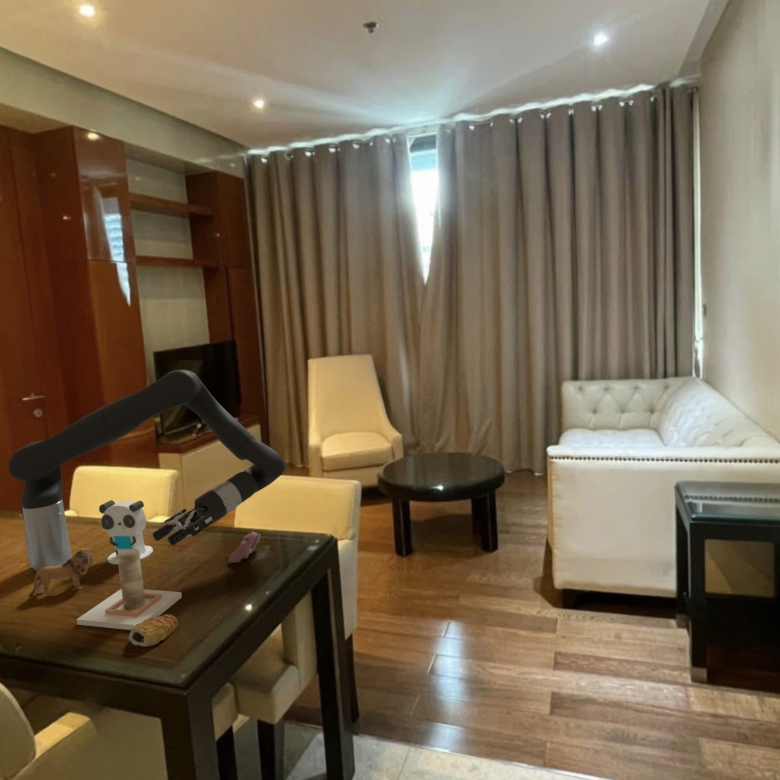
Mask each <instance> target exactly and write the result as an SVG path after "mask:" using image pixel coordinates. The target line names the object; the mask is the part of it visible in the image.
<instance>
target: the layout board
mask: <svg viewBox="0 0 780 780" xmlns="http://www.w3.org/2000/svg"><path fill="white" fill-rule="evenodd" d="M144 595H145V605H144V606H142V607H141V608H138V609H135V610H125V609H124V606H123V598H122V590H121V588H120V589H119V590H117V591H116V592H114V593H112V595H111V594H110V596H109V597H107V598H105V599H104V600H102V601H101V602H100V603H98V604H97V605H95V606H94V607H92V608H91V609H90V610H88V611H87V612H85V613H84V614H82V615H81V616H79V617H78V618H76V624H77V626H78V625H80V626H88V627H96V628H99V627H100V628H108V629H116V630H118V629H119V630H128V631H132V628H135V626H136V624H138V623H142V622H143V621H144V620H145V619H151V618H153V617H157V616H162V614H163V613H164V612H166V611H167V610H168V609H169V608H171V607H172V606H173V605H174V604H176V603H177V602H178V601H179V600H180V599H181V598H182V597H183V596H182V592H180V591H170V590H155V589H144Z"/></svg>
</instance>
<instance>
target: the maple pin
mask: <svg viewBox="0 0 780 780" xmlns="http://www.w3.org/2000/svg"><path fill="white" fill-rule="evenodd" d="M117 558H118V564H117V567H118V572H119V574H118V575H119V581H120V589H121V590H122V598H123V606H124V609H125V610H135V609H138V608H141V607H142V606H144V605H145V595H144V588H145V587H144V579H143V572H142V565H141V564H142V563H141V562H142V561H141V560H140V553H139V550H137V549H129V550H125V551H122V552H120V553H119V554H118V555H117Z"/></svg>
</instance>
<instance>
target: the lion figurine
mask: <svg viewBox="0 0 780 780" xmlns="http://www.w3.org/2000/svg"><path fill="white" fill-rule="evenodd" d="M92 551H93V550H92V549H89V548H87V547H83V548H80V549H78V550H77V551H76V552H75V554H74V555H73V556H72V558H70V559H69V560H68V561H67V562H66V563H65V564H63V565H60V566H46V567H43V568H41V569H40V570H39V571H36V574H35V576H34V581H33V582H34V583H33V588H32V591H31V593H30V594H29V595H28V596H27V598H32V597H33V596H34V594H35V593H37V594H40V593H41V594H43V593H45V594H46V595H47V597H53V596H54V595H55V593H54V592H50V590H49V587H50V583H51V579H52V580H55V581H65V580H68V579H72V584H73V586H74V587H75V589H76V590H77V589H78V590H79V589H80V590H82V589H83V586H82V585H81V582H80V577H81V576H82V575H86V573H87V572H88V570H89V569H90V568H91V566H92V565H93V563H94V555H93V552H92ZM38 580H39V581H38ZM42 587H43V589H41V588H42Z"/></svg>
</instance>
